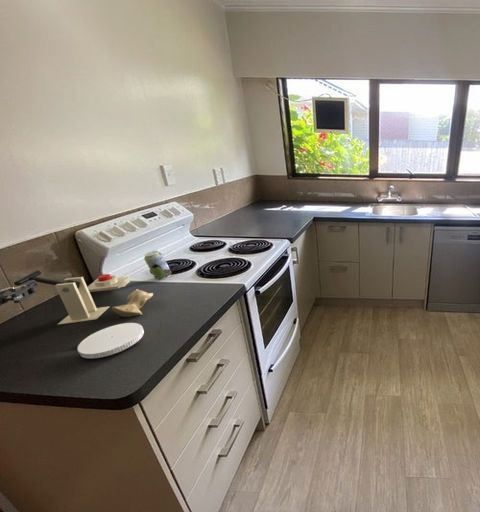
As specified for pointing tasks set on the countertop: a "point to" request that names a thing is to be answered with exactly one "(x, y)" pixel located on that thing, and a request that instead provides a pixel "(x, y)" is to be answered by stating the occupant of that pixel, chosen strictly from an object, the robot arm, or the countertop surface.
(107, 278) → the stop button
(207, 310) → the countertop surface
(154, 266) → the beverage can
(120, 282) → the block
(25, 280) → the lever
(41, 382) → the countertop surface
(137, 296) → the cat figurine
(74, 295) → the bracket
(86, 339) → the plastic lid
